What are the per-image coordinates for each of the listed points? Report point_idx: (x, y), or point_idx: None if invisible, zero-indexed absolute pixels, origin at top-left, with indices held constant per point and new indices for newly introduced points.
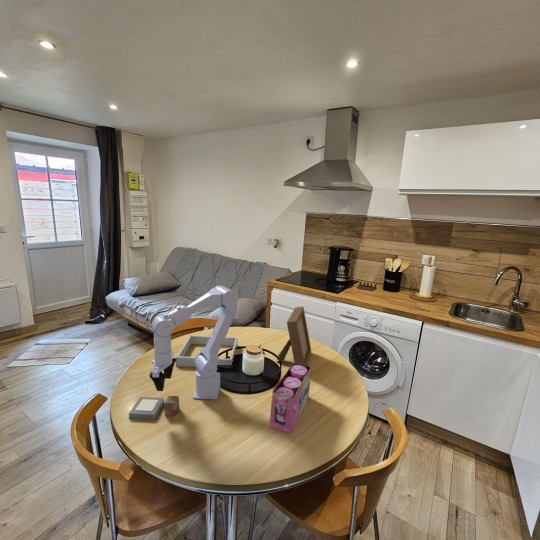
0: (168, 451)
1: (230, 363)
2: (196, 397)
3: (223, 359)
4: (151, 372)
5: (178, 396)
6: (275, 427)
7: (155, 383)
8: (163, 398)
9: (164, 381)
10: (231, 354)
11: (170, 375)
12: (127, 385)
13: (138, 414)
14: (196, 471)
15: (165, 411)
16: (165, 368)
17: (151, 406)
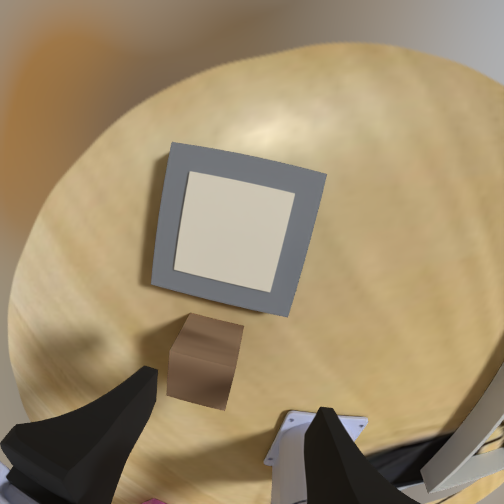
0: (40, 325)
1: (426, 481)
2: (285, 423)
3: (445, 478)
4: (42, 474)
5: (222, 409)
6: (148, 501)
7: (100, 407)
8: (284, 314)
9: (123, 462)
10: (456, 484)
11: (305, 456)
12: (464, 94)
13: (163, 197)
14: (20, 372)
15: (184, 326)
16: (333, 484)
17: (211, 261)
